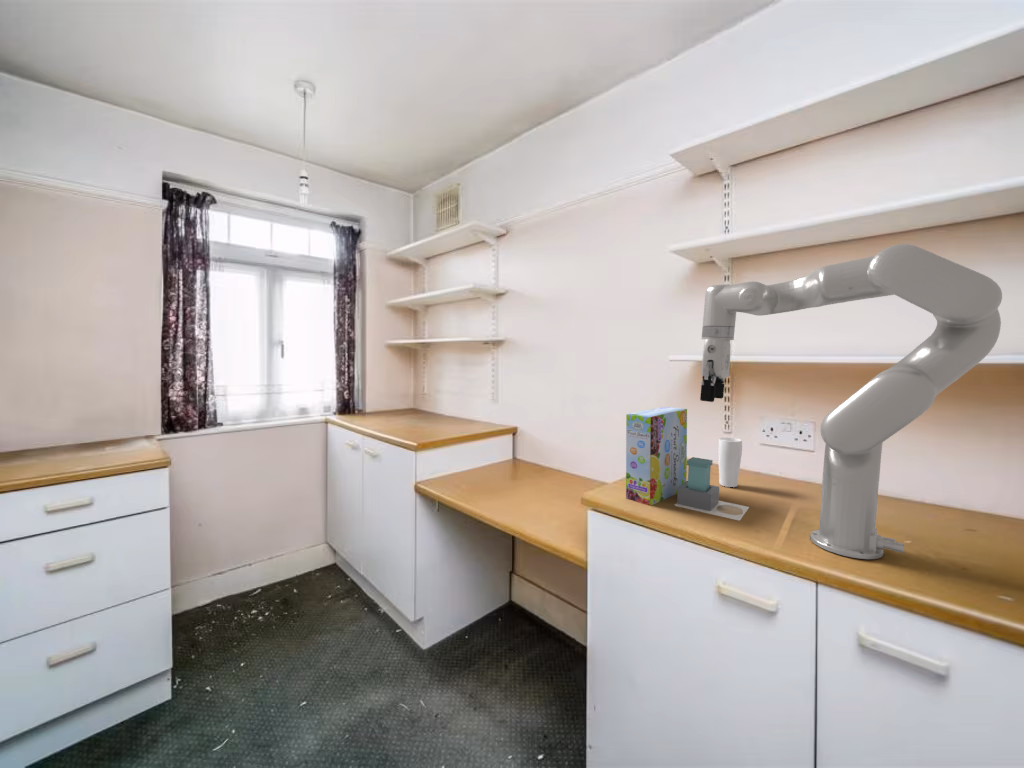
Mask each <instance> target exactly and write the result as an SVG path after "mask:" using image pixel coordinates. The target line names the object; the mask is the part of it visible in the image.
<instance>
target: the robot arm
mask: <svg viewBox="0 0 1024 768" xmlns="http://www.w3.org/2000/svg"><path fill="white" fill-rule="evenodd" d="M894 295H895V296H897V297H898V298H900V299H902V300H904V301H906V302H908V303H910V304H913V305H914V306H916V307H918V308H920V309H922V310H925V311H927V312H928V313H930V314H932V315H933V318H935V321H936V326H935V329H934V331H933V332H932V334H931V335H929V336H928V337H927V338H926V339H925V340H924V341H922V342H921V343H920V344H919V345H917V346H916V347H915V348H914V349H913V350H912V351H910V352H909V353H908V354H906V356H904V357H903V358H902V359H901V360H899V361H897V362H896V363H895V364H894V365H892V366H891V367H889V368H887V369H885V370H883V371H880V373H878V374H877V375H875V376H874V377H873V378H872V379H869V381H868V382H867V383H865V384H864V385H863V386H861V387H860V388H859V389H858V390H857V391H855V392H854V393H853V394H852V395H850V396H849V397H848V398H846V399H845V400H844V401H843V402H841V403H840V404H839V405H838V406H837V407H835V408H834V409H833V410H831V411H830V412H829V413H828V414H827V415H826V416H824V417H823V419H822V422H821V423H820V428H819V429H820V431H819V432H820V436H821V438H822V440H823V442H824V443H825V447H824V454H823V455H824V457H823V469H822V470H823V471H822V479H821V480H822V483H821V498H820V511H819V512H820V513H819V527H818V528H819V529H816V530H813V531H811V532H810V536H809V537H810V538H809V539H810V540H811V542H813V544H815V545H816V546H818V547H819V548H821V549H823V550H825V551H828V552H830V553H834V554H837V555H840V556H844V557H848V558H853V559H859V560H876V559H880V558H882V557H883V556H884V549H886V550H891V551H892V552H898V553H901V554H904V553H905V552H904V551H905V544H904V543H903V542H898V541H896V539H895V538H891V537H886V536H881V534H878V531H877V530H878V529H877V528H876V525H877V523H876V522H877V510H878V496H879V484H880V474H881V463H882V453H883V451H882V450H883V443H884V442H885V441H887V440H888V439H890V438H891V437H893V436H894V435H896V433H898V432H899V431H901V430H902V429H904V428H905V427H906V426H909V424H911V423H913V422H914V421H915V420H917V419H918V418H919V417H920V416H922V415H923V414H925V413H926V411H928V410H929V409H930V408H931V407H932V405H933V403H934V402H935V399H936V396H938V395H940V393H942V392H943V391H944V390H945V389H946V388H948V387H949V386H950V385H952V384H953V383H955V382H956V381H957V380H959V379H960V378H962V377H963V376H964V375H965V374H966V373H968V372H969V371H970V370H972V369H973V368H974V367H975V366H977V365H978V364H979V363H980V362H981V361H983V360H984V359H985V358H986V356H988V355H989V354H990V352H991V351H992V350H993V348H994V347H995V345H996V343H997V342H998V338H999V337H1000V332H1001V325H1002V322H1001V321H1002V320H1001V315H1000V311H999V307H1000V305H1001V303H1002V300H1003V292H1002V289H1001V287H1000V286H999V284H998V282H996V281H995V280H993V278H991V277H989V276H987V275H985V274H982V273H980V272H978V271H975V270H973V269H971V268H968V267H966V266H963V265H961V264H959V263H956V262H954V261H952V260H950V259H947V258H945V257H943V256H941V255H937V254H936V253H934V252H931V251H929V250H927V249H925V248H922V247H920V246H917V245H915V244H914V245H913V244H907V243H906V244H905V243H901V244H894V245H890V246H888V247H885V248H883V249H882V250H880V251H879V252H877V254H875V255H873V256H867V257H864V258H858V259H854V260H849V261H844V262H838V263H834V264H828V265H825V266H821V267H819V268H817V269H815V270H814V271H812V272H810V273H809V274H807V275H805V276H803V277H800V278H797V279H793V280H788V281H785V282H779V283H774V284H767V285H766V284H764V283H762V282H759V281H745V282H741V283H734V284H713V285H711V286H708V287H707V288H706V289H705V295H704V307H703V318H702V331H701V340H704V346H703V351H702V352H703V353H702V359H701V360H702V361H701V376H702V377H701V379H702V380H701V387H700V397H699V399H700V401H701V402H709V403H713V402H715V399H721V400H722V399H723V398H724V393H725V379H726V378H728V377H729V376H730V369H731V368H730V366H731V348H732V346H731V341H734V339H735V330H736V329H735V328H736V321H737V320H736V319H737V313H743V314H749V315H753V316H768V315H769V316H770V315H775V314H782V313H788V312H794V311H799V310H805V309H806V310H807V309H811V308H819V307H823V306H828V305H835V304H842V303H847V302H855V301H860V300H866V299H867V300H869V299H873V298H874V299H875V298H881V297H887V296H894Z"/></svg>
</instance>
